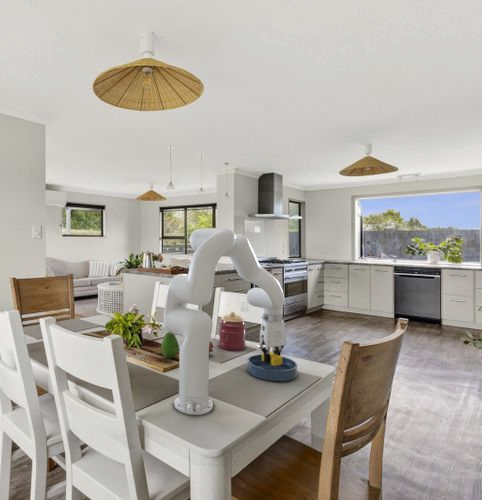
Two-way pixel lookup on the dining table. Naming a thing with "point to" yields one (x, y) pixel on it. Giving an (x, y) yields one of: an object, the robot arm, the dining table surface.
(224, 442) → the dining table surface
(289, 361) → the bowl
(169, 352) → the avocado
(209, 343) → the dragon fruit
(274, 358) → the sponge
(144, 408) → the dining table surface
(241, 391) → the dining table surface
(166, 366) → the dining table surface
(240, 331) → the kitchen canister
